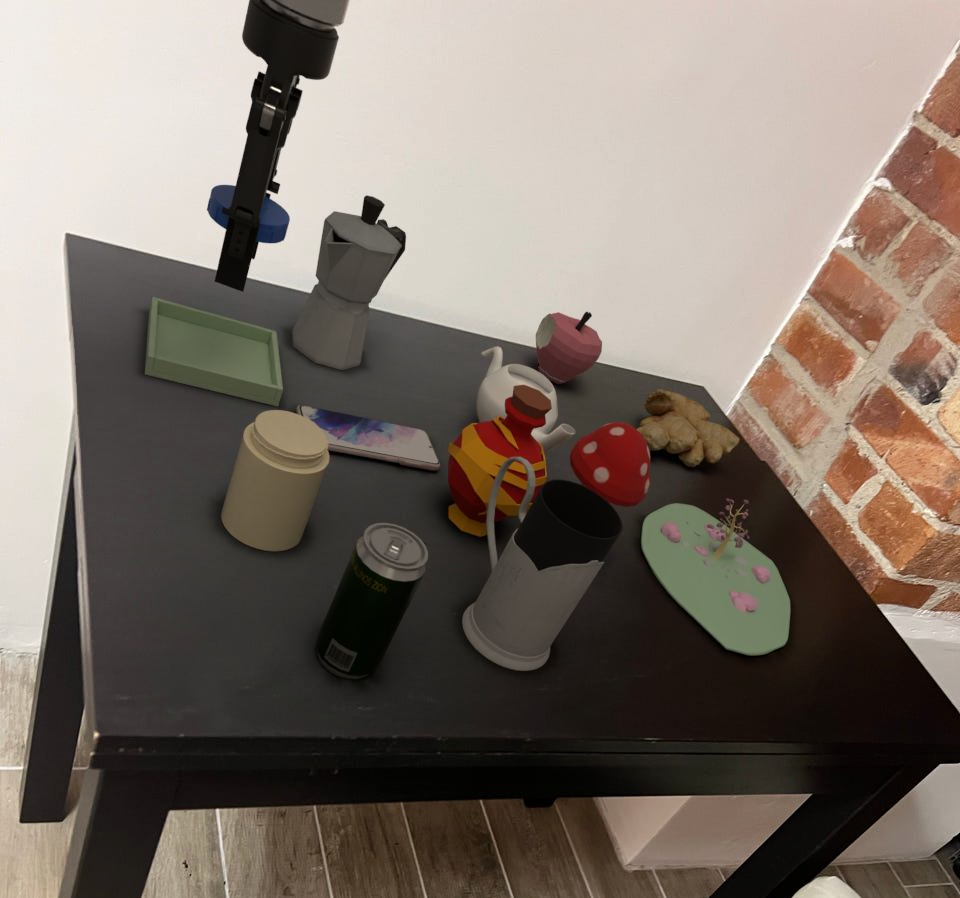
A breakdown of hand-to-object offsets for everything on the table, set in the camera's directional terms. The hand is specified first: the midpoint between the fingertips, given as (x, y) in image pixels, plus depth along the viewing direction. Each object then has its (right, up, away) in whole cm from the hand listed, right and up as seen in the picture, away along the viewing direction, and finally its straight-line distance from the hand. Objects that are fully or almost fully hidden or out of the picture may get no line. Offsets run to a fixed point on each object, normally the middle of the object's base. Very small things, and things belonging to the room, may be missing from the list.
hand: (235, 268), depth 89 cm
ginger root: (+50, -9, +39) cm, 64 cm away
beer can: (+13, -38, -16) cm, 43 cm away
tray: (-4, -7, +6) cm, 10 cm away
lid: (+2, +4, -4) cm, 6 cm away
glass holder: (+25, -34, -5) cm, 43 cm away
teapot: (+26, -14, +18) cm, 35 cm away
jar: (+5, -26, -9) cm, 28 cm away
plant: (+52, -30, +17) cm, 62 cm away
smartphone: (+12, -16, +7) cm, 21 cm away
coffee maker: (+6, -2, +19) cm, 20 cm away
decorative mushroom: (+33, -26, +9) cm, 43 cm away
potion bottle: (+23, -24, +5) cm, 34 cm away
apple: (+34, 0, +39) cm, 52 cm away
